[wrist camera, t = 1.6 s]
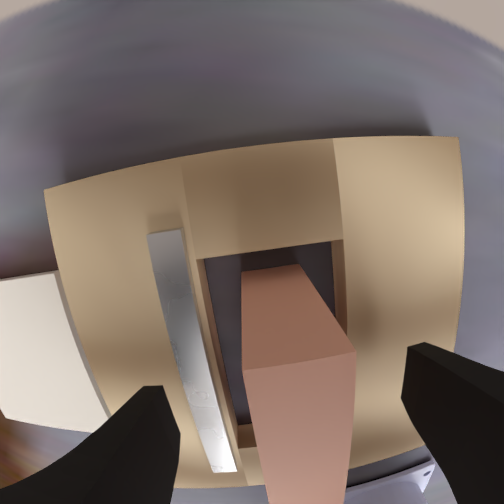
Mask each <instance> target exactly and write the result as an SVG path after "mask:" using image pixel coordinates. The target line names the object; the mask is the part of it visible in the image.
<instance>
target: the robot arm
mask: <svg viewBox="0 0 504 504" xmlns="http://www.w3.org/2000/svg"><path fill="white" fill-rule="evenodd" d="M401 400H402V403H403V405H404V407H405V409H406V412H407V414H408V416H409V418H410V420H411V422H412V424H413V426H414V427H415V429H416V430H417V432H418V434H419V435H420V437H421V438H422V440H423V441H424V443H425V445H426V446H427V448H428V449H429V451H430V452H431V454H432V455H433V457H434V458H435V460H436V462H437V463H438V465H439V466H440V468H441V470H442V471H443V473H444V475H445V477H446V478H447V480H448V482H449V485H450V487H451V489H452V492H453V494H454V496H455V499H456V501H457V503H458V504H504V372H503V371H500V370H496V369H494V368H491V367H488V366H485V365H483V364H480V363H477V362H475V361H472V360H470V359H467V358H465V357H462V356H460V355H458V354H455V353H453V352H450V351H448V350H445V349H443V348H440V347H438V346H435V345H432V344H429V343H426V342H422V343H419V344H415V345H412V346H408V347H407V355H406V363H405V371H404V378H403V385H402V392H401ZM180 439H181V433H180V430H179V428H178V425H177V423H176V420H175V418H174V415H173V412H172V410H171V407H170V404H169V401H168V398H167V396H166V393H165V390H164V387H163V385H156V386H143V387H142V388H141V389H139V390H138V391H137V392H136V393H135V394H134V395H133V396H132V397H131V398H130V399H129V400H128V401H127V402H126V403H125V404H124V405H123V406H122V407H121V408H120V409H118V410H117V411H116V412H115V413H114V414H113V415H112V416H111V417H110V418H109V419H108V420H107V421H106V422H105V423H104V424H103V425H101V426H100V427H99V428H98V429H97V430H96V431H95V432H93V433H92V434H91V435H90V436H89V437H87V438H86V439H85V440H84V441H83V442H81V443H80V444H79V445H78V446H77V447H75V448H74V449H73V450H71V451H70V452H69V453H67V454H66V455H64V456H63V457H62V458H60V459H58V460H57V461H55V462H54V463H52V464H51V465H49V466H48V467H46V468H44V469H43V470H41V471H39V472H37V473H35V474H33V475H31V476H29V477H27V478H25V479H23V480H21V481H19V482H17V483H15V484H12V485H10V486H7V487H5V488H2V489H0V504H170V502H171V497H172V492H173V488H174V483H175V478H176V473H177V469H178V464H179V454H180ZM434 467H435V464H434V462H433V461H428V462H426V463H423V464H421V465H418V466H415V467H413V468H410V469H407V470H405V471H402V472H399V473H396V474H393V475H390V476H387V477H384V478H381V479H378V480H374V481H371V482H368V483H364V484H360V485H357V486H353V487H349V488H346V490H345V497H344V503H343V504H428V503H427V501H426V499H425V497H424V495H423V491H424V489H425V487H426V485H427V483H428V481H429V479H430V476H431V474H432V472H433V470H434Z"/></svg>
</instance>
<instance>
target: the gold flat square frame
mask: <svg viewBox="0 0 504 504" xmlns="http://www.w3.org/2000/svg"><path fill="white" fill-rule="evenodd" d="M44 196H45V203H46V209H47V215H48V221H49V227H50V232H51V237H52V242H53V247H54V251H55V256H56V260H57V264H58V268H59V272H60V276H61V280H62V284H63V287H64V291H65V295H66V298H67V301H68V305H69V308H70V311H71V315H72V318H73V321H74V324H75V327H76V330H77V333H78V336H79V339H80V341H81V344H82V347H83V350H84V352H85V355H86V358H87V360H88V363H89V365H90V368H91V370H92V373H93V375H94V378H95V380H96V382H97V385H98V387H99V389H100V392H101V394H102V396H103V398H104V400H105V403H106V405H107V407H108V409H109V411H110V413H111V415H113V414H114V413H115V412H116V411H117V410H118V409H120V408H121V407H122V406H123V405H124V404H125V403H126V402H127V401H128V400H129V399H130V398H131V397H132V396H133V395H134V394H135V393H136V392H137V391H138V390H139V389H141V388H142V387H143V386H156V385H163V387H164V390H165V393H166V396H167V398H168V401H169V404H170V407H171V410H172V412H173V415H174V418H175V420H176V423H177V425H178V428H179V430H180V433H181V439H180V454H179V464H178V469H177V473H176V478H175V483H174V488H225V487H241V486H253V485H263V484H265V482H264V477H263V473H262V468H261V463H260V459H259V454H258V449H257V444H256V439H255V434H254V430H253V425H252V424H245V425H238V424H237V420H236V415H235V411H234V407H233V403H232V398H231V394H230V389H229V385H228V380H227V376H226V371H225V367H224V362H223V357H222V352H221V348H220V343H219V338H218V333H217V328H216V323H215V318H214V313H213V307H212V302H211V297H210V292H209V286H208V281H207V275H206V269H205V264H204V258H211V257H218V256H225V255H232V254H240V253H247V252H254V251H261V250H268V249H276V248H283V247H290V246H297V245H304V244H312V243H319V242H326V241H331V249H332V263H333V279H334V297H335V319H336V320H337V322H338V323H339V325H340V326H341V328H342V330H343V331H344V333H345V334H346V336H347V337H348V339H349V340H350V342H351V343H352V345H353V347H354V348H355V350H356V351H357V353H356V383H355V402H354V417H353V429H352V440H351V450H350V459H349V468H348V469H352V468H355V467H359V466H363V465H366V464H370V463H373V462H377V461H380V460H383V459H387V458H390V457H393V456H396V455H399V454H402V453H404V452H407V451H410V450H413V449H416V448H418V447H421V446H423V445H425V443H424V441H423V440H422V438H421V437H420V435H419V434H418V432H417V430H416V429H415V427H414V426H413V424H412V422H411V420H410V418H409V416H408V414H407V412H406V409H405V407H404V405H403V403H402V400H401V392H402V385H403V378H404V371H405V363H406V355H407V347H408V346H412V345H415V344H419V343H422V342H426V343H429V344H432V345H435V346H438V347H440V348H443V349H445V350H448V351H450V352H454V346H455V340H456V334H457V327H458V320H459V312H460V304H461V294H462V282H463V267H464V235H465V224H464V192H463V177H462V165H461V155H460V147H459V139H458V137H442V136H370V137H346V138H329V139H315V140H303V141H292V142H281V143H272V144H263V145H255V146H247V147H239V148H232V149H225V150H219V151H212V152H206V153H200V154H194V155H188V156H182V157H177V158H172V159H166V160H161V161H156V162H151V163H147V164H142V165H137V166H133V167H128V168H124V169H120V170H115V171H111V172H107V173H103V174H99V175H95V176H91V177H88V178H84V179H80V180H76V181H73V182H69V183H66V184H62V185H59V186H55V187H52V188H49V189H45V190H44Z"/></svg>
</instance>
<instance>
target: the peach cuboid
mask: <svg viewBox="0 0 504 504" xmlns="http://www.w3.org/2000/svg"><path fill="white" fill-rule="evenodd" d="M241 311H242V373H243V378H244V384H245V389H246V394H247V399H248V404H249V410H250V415H251V420H252V425H253V430H254V434H255V439H256V444H257V449H258V454H259V459H260V463H261V468H262V473H263V477H264V482H265V486H266V491H267V495H268V500H269V504H343V503H344V497H345V490H346V483H347V476H348V468H349V459H350V450H351V440H352V429H353V417H354V402H355V383H356V353H357V351H356V350H355V348H354V347H353V345H352V343H351V342H350V340H349V339H348V337H347V336H346V334H345V333H344V331H343V330H342V328H341V326H340V325H339V323H338V322H337V320H336V319H335V317H334V316H333V314H332V313H331V311H330V310H329V308H328V307H327V305H326V304H325V302H324V301H323V299H322V298H321V296H320V295H319V293H318V292H317V290H316V289H315V287H314V286H313V284H312V283H311V281H310V280H309V278H308V277H307V275H306V274H305V272H304V271H303V269H302V268H301V266H300V265H299V264H294V265H287V266H280V267H273V268H266V269H258V270H251V271H244V272H241Z"/></svg>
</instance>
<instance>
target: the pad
mask: <svg viewBox="0 0 504 504" xmlns="http://www.w3.org/2000/svg"><path fill="white" fill-rule="evenodd" d="M0 409H1V410H2V412H3V414H4V416H5V417H6V418H8V419H12V420H17V421H22V422H26V423H31V424H37V425H42V426H48V427H54V428H60V429H67V430H75V431H83V432H95V431H96V430H97V429H98V428H99V427H100V426H101V425H103V424H104V423H105V422H106V421H107V420H108V419H109V418H110V417H111V416H112V415H111V413H110V411H109V409H108V407H107V405H106V403H105V400H104V398H103V396H102V394H101V392H100V389H99V387H98V385H97V382H96V380H95V378H94V375H93V373H92V370H91V368H90V365H89V363H88V360H87V358H86V355H85V352H84V350H83V347H82V344H81V341H80V339H79V336H78V333H77V330H76V327H75V324H74V321H73V318H72V315H71V311H70V308H69V305H68V301H67V298H66V295H65V291H64V287H63V284H62V280H61V276H60V272H59V270H56V271H49V272H43V273H36V274H30V275H24V276H17V277H11V278H5V279H0Z"/></svg>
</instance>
